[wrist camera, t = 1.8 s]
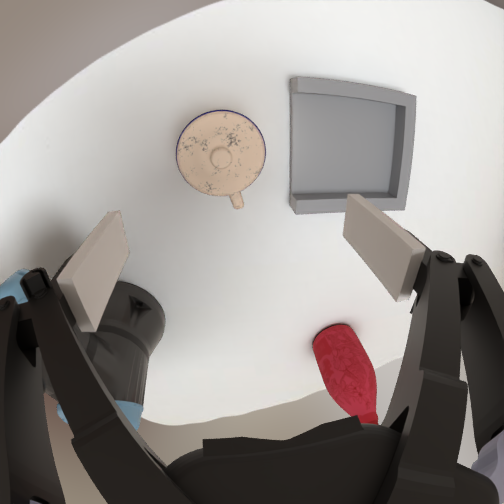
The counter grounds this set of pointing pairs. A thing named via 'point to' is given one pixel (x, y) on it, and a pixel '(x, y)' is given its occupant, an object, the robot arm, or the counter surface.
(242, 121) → the teacup with lid
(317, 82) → the shallow gray tray
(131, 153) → the counter surface
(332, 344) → the wine bottle
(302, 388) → the counter surface
